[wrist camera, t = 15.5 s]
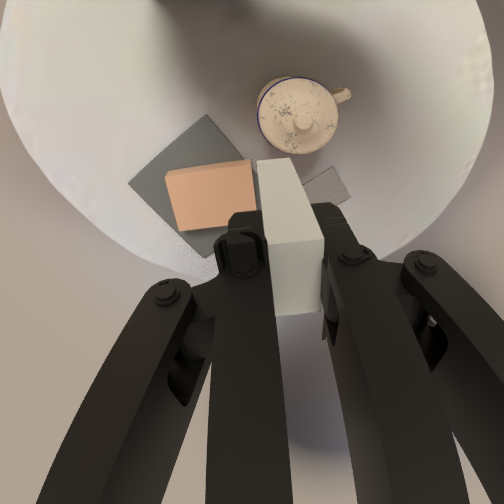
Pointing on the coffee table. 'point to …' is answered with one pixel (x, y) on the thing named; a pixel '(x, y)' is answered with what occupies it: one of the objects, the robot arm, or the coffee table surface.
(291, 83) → the teacup with lid
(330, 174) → the turner
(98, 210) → the coffee table surface
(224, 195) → the tile
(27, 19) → the coffee table surface
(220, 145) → the mat
